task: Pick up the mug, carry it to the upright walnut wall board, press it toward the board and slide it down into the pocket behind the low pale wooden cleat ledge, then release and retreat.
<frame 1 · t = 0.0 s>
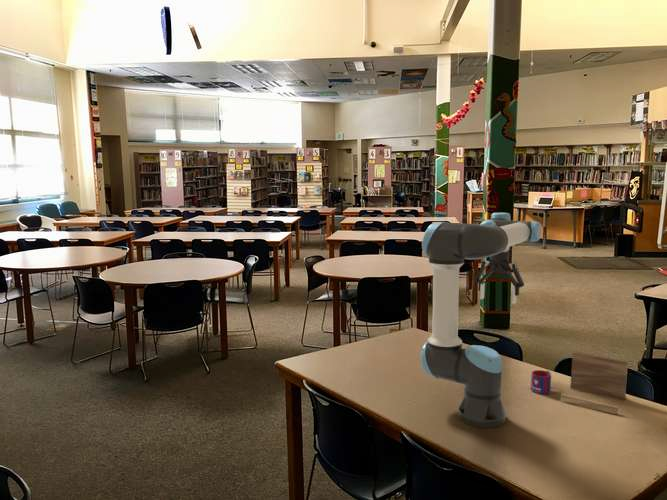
hand: (498, 300, 217), 28 cm above the table, fingers open, 13 cm apart
wall board: (597, 393, 192), on the table
mug: (542, 390, 196), on the table
cleat ledge: (588, 407, 181), on the table
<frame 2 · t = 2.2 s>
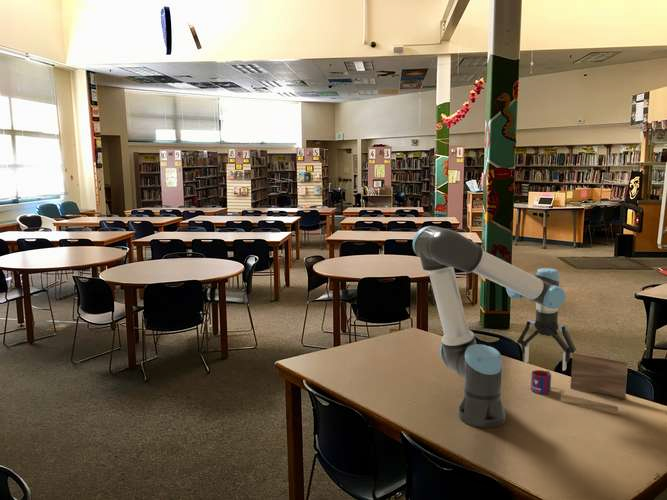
hand: (545, 365, 195), 9 cm above the table, fingers open, 13 cm apart
nothing on the table moved.
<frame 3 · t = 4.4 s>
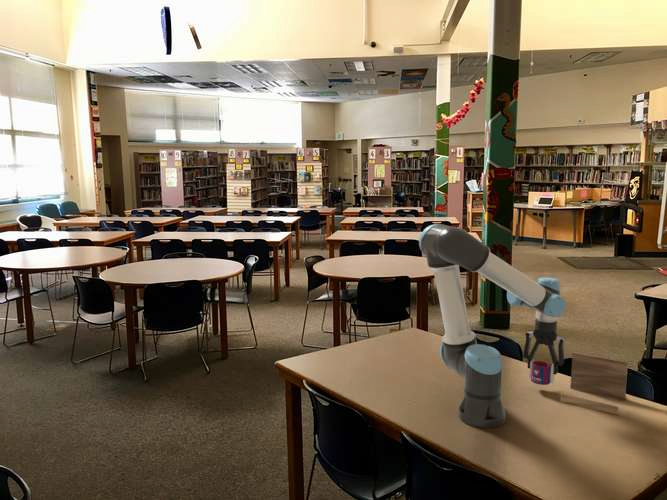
hand: (541, 379, 195), 4 cm above the table, fingers closed on mug, 7 cm apart
mug: (542, 380, 195), point 4 cm above the table, touching gripper
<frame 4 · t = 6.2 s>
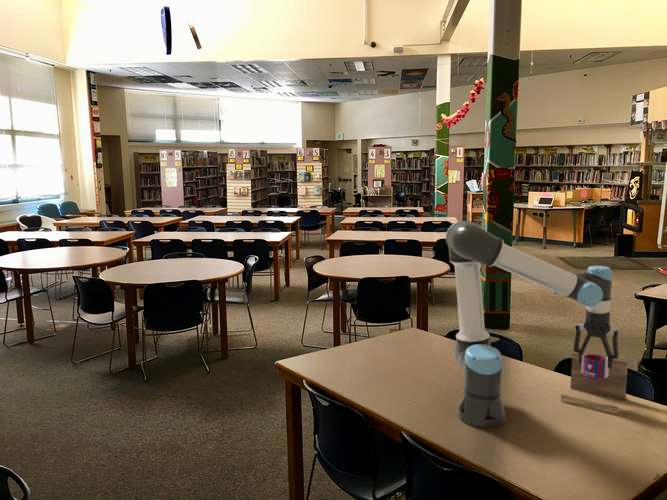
hand: (594, 374, 184), 10 cm above the table, fingers closed on mug, 7 cm apart
mug: (596, 375, 184), point 10 cm above the table, touching gripper
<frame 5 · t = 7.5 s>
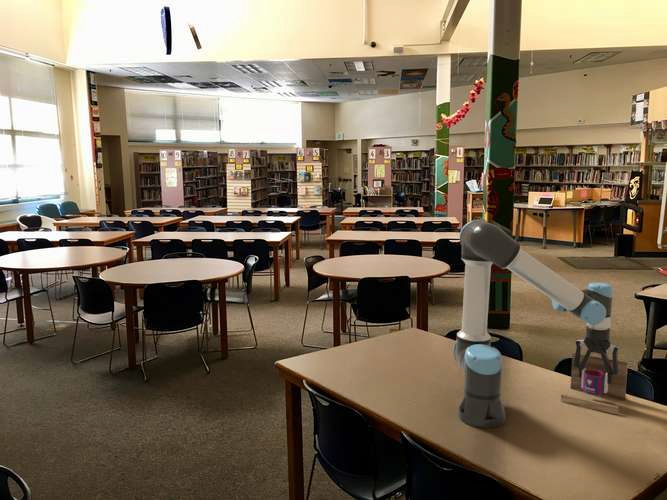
hand: (594, 389, 186), 4 cm above the table, fingers closed on mug, 7 cm apart
mug: (595, 390, 186), point 3 cm above the table, touching gripper
when the fingers open (1 cm above the table, at t = 8.3 s): mug drops 1 cm, on the table.
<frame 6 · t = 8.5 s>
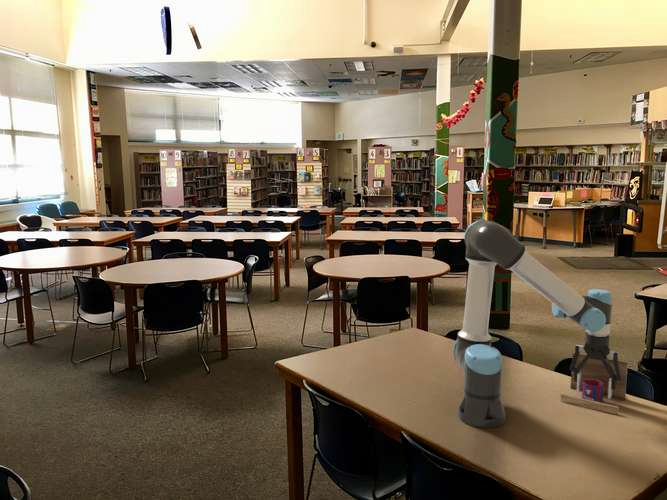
hand: (593, 393, 187), 2 cm above the table, fingers open, 9 cm apart
mug: (594, 400, 187), on the table
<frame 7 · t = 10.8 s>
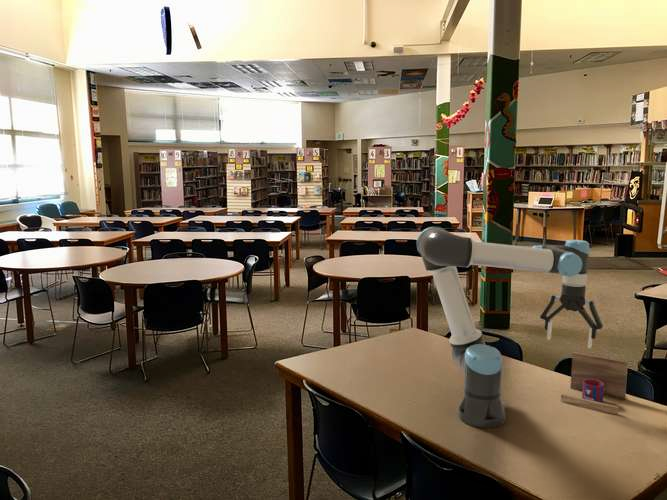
hand: (568, 343, 185), 21 cm above the table, fingers open, 13 cm apart
nothing on the table moved.
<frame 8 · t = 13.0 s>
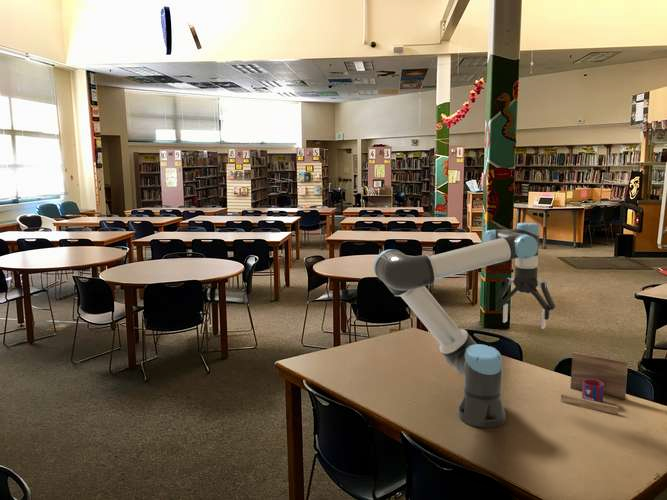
hand: (523, 324, 187), 27 cm above the table, fingers open, 13 cm apart
nothing on the table moved.
at the end: mug inside the target area (0.9 cm from its centre), on the table; mug tilted 0°; the gripper is holding nothing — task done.
